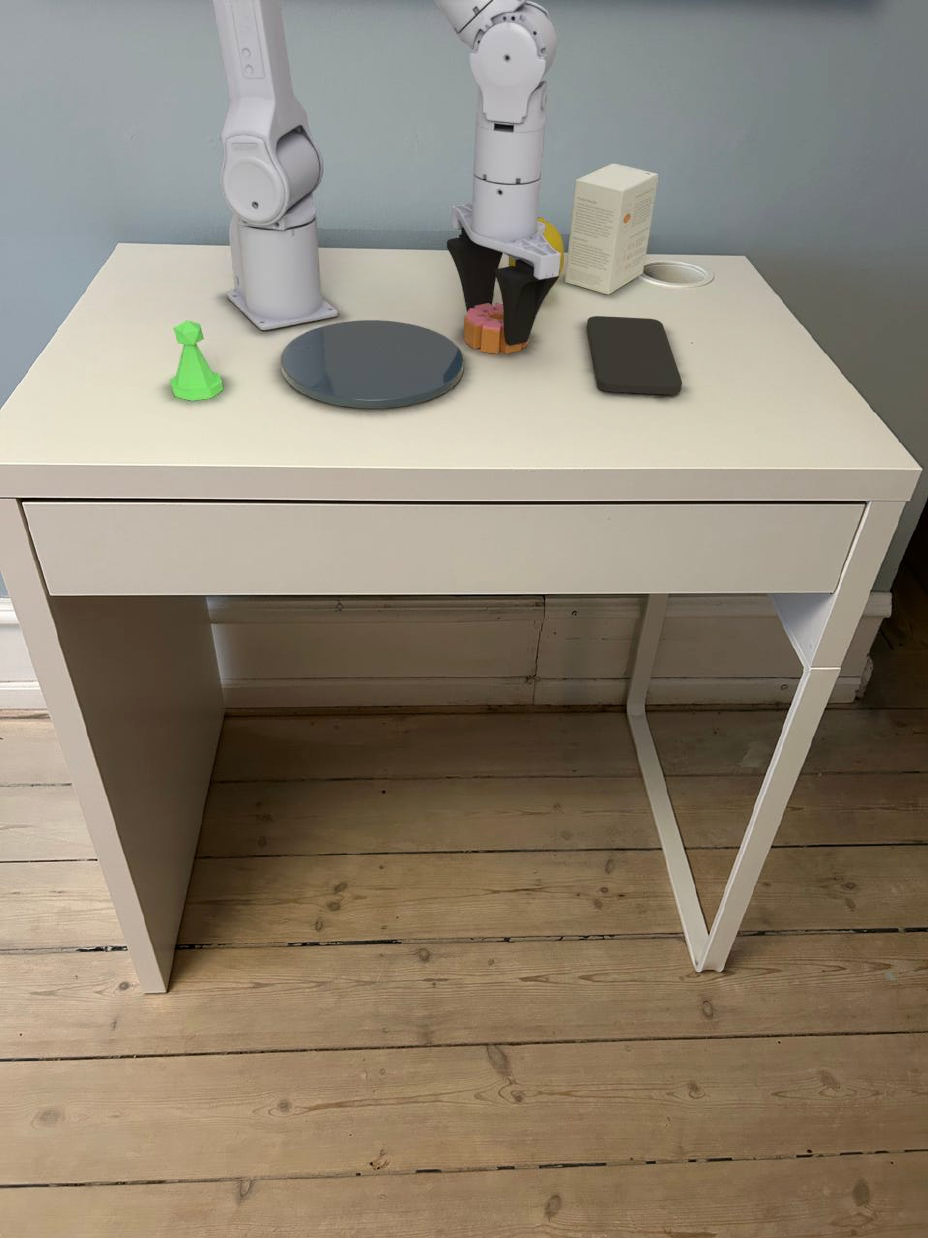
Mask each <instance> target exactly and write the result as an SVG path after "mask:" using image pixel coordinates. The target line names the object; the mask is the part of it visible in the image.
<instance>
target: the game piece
mask: <svg viewBox="0 0 928 1238" xmlns="http://www.w3.org/2000/svg"><path fill="white" fill-rule="evenodd" d="M173 331H174V334H175V338H176V343H177V344H180V345H183V347H182V350H181V355H180V358H179V362H178V365H177V370H176V374H175V375H174V376H173V377H172V378H170V380H169V381H170V387H171V390H172V393H173V394H174V397H175V398H178V399H183V400H187V401H191V402H194V401H201V400H207V399H213V398H214V397H216V396H217V395H219V394H220V393H221V392H222V391H224V386H223V379H222V378H221V376H220V374H219V372H216V371H213V370H212V369H211V367H210V365H209V364H208V362H207V360H206V359H205V356H204V355H203V352H202V351H201V349H200V347H199V346H198V343H200V342H201V341H203V340H205V338H204V333H203V330H202V326H201V324H200V323H198V322H194V321H191V320H185V321H183V322H181V323H179V324H178V325H176V326H175V327H173Z"/></svg>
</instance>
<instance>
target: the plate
mask: <svg viewBox="0 0 928 1238" xmlns="http://www.w3.org/2000/svg"><path fill="white" fill-rule="evenodd" d="M464 360H465V359H464V355H463V353H462V350H461V349H460V348H459V346H458V345H457V344H456V343H455V342H453V341H452V340H451V339H450V338H448V337H447V336H445V335H443V334H441V333H439V332H437V331H434V330H432V329H430V328H427V327H424V326H420V325H416V324H412V323H407V322H401V321H392V320H381V319H380V320H379V319H372V320H371V319H363V320H362V319H361V320H350V321H342V322H336V323H330V324H327V325H322V326H320V327H316V328H313V329H310V330H308V331H306V332H304V333H302V334H299V335H298V336H297V337H295V338H294V339H292V340H291V341H290V342H289V343H288V344H287V345H286V346H285V347H284V349H283V351H282V353H281V357H280V366H281V367H280V368H281V373H282V375H283V378H284V379H285V380H286V382H287V383H288V384H289V385H290V386H291V387H292V388H294V389H295V390H296V391H298V392H299V393H301V394H302V395H305V396H307V397H309V398H311V399H314V400H317V401H320V402H323V403H327V404H331V405H336V406H341V407H348V408H354V409H355V408H356V409H357V408H358V409H389V408H399V407H405V406H406V407H407V406H411V405H415V404H420V403H424V402H426V401H429V400H432V399H435V398H437V397H439V396H441V395H443V394H445V393H446V392H448V391H449V390H451V389H453V387H455V386H456V385H457V383H459V381H460V379H461V377H462V376H463V374H464V363H465V362H464Z"/></svg>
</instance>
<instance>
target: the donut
mask: <svg viewBox="0 0 928 1238" xmlns="http://www.w3.org/2000/svg"><path fill="white" fill-rule="evenodd" d="M463 319H464V320H463V340H464V343H465V344H466V345H468V346H469V347H471V348H472V349H473V350H476V349H480V352H481V353H488V354H495V355H496V354H497V355H499V353H500V351H502V352H503V353H504V354H505V355H508V354H512V353H517V352H521V351H522V348H523V349H524V348H527V345H528V343H529V342H530V337H529V338H528V341H527V342H525V343H521V344H516V345H512V346H509V345H508V344H506V343H505V338H504V314H503V303H500V302H495V304H494V305H493V304H492V305H491V304H490V303H486V304H481V305H476V306H475V308H470V309H469V310H468V312H467V311H466V314H465V315H464V318H463Z"/></svg>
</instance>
